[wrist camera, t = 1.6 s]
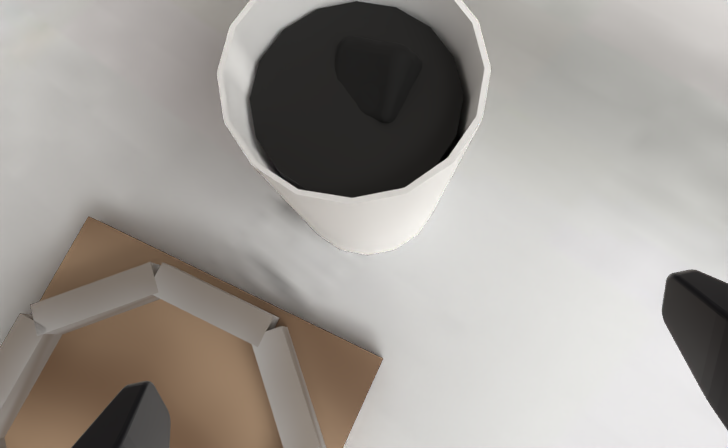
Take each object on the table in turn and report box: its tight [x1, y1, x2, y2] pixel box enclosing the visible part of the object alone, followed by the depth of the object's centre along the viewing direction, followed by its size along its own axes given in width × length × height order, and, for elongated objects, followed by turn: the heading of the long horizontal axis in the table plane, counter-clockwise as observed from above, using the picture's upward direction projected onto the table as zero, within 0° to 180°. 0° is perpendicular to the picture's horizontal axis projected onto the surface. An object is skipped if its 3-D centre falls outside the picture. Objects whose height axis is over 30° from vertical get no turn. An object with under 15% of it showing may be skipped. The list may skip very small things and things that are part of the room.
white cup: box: [217, 0, 491, 255], centre depth 19 cm, size 7×7×10 cm
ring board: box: [0, 216, 383, 448], centre depth 21 cm, size 13×13×2 cm
